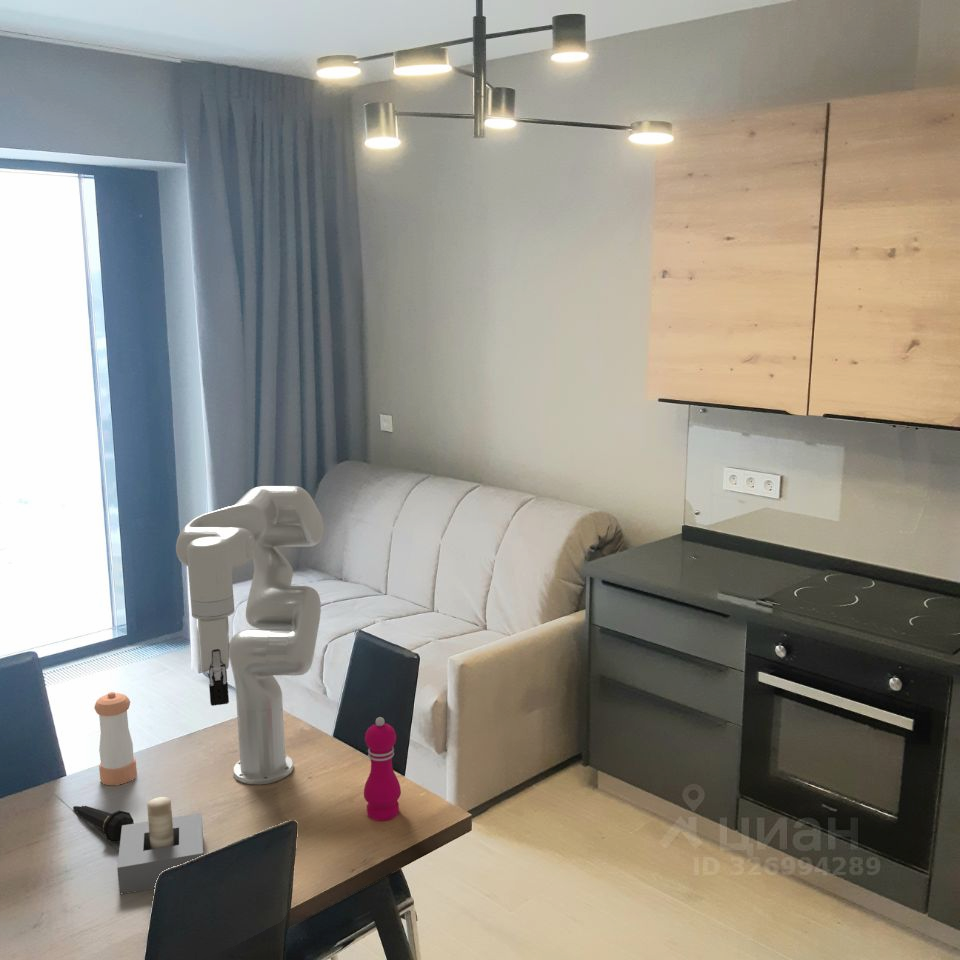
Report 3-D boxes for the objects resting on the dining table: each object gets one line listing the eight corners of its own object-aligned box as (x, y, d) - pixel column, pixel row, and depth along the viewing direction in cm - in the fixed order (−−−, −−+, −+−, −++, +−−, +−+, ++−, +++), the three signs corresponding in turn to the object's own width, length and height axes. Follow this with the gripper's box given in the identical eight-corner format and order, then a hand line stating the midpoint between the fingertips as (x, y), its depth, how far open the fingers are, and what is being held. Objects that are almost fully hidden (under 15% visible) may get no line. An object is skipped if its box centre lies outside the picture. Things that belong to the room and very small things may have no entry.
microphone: (68, 828, 189) (120, 852, 176) (55, 805, 187) (107, 827, 174) (92, 809, 193) (144, 831, 180) (80, 787, 191) (131, 807, 178)
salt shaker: (137, 781, 201) (130, 696, 197) (100, 788, 198) (92, 702, 195) (135, 766, 207) (128, 683, 204) (100, 773, 205) (92, 689, 201)
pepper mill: (395, 824, 183) (392, 726, 180) (359, 820, 185) (355, 724, 181) (405, 805, 190) (403, 711, 187) (371, 801, 192) (367, 708, 188)
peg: (152, 860, 172) (147, 799, 170) (175, 856, 173) (171, 795, 171) (151, 872, 168) (146, 810, 166) (175, 868, 170) (170, 806, 167)
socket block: (124, 850, 175) (122, 825, 175) (203, 837, 180) (201, 812, 179) (119, 894, 162) (117, 867, 161) (205, 879, 166) (203, 853, 165)
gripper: (191, 593, 180) (197, 677, 184) (191, 623, 164) (198, 715, 168) (232, 589, 182) (238, 672, 186) (235, 618, 166) (242, 710, 170)
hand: (219, 693), depth 177 cm, fingers open, 9 cm apart
